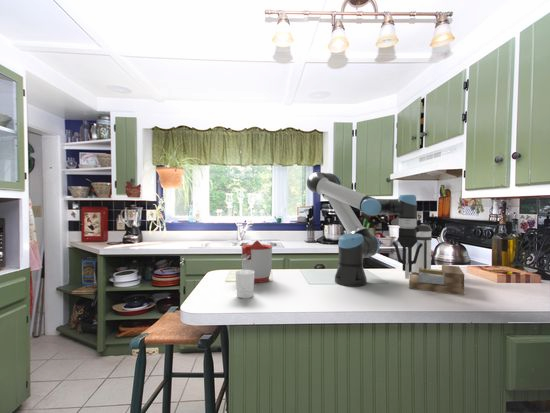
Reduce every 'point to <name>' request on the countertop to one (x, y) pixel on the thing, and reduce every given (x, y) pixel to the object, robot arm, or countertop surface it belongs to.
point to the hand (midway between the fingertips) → (407, 277)
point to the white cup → (245, 283)
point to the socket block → (452, 281)
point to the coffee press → (425, 251)
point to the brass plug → (431, 271)
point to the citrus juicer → (257, 260)
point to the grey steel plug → (431, 278)
